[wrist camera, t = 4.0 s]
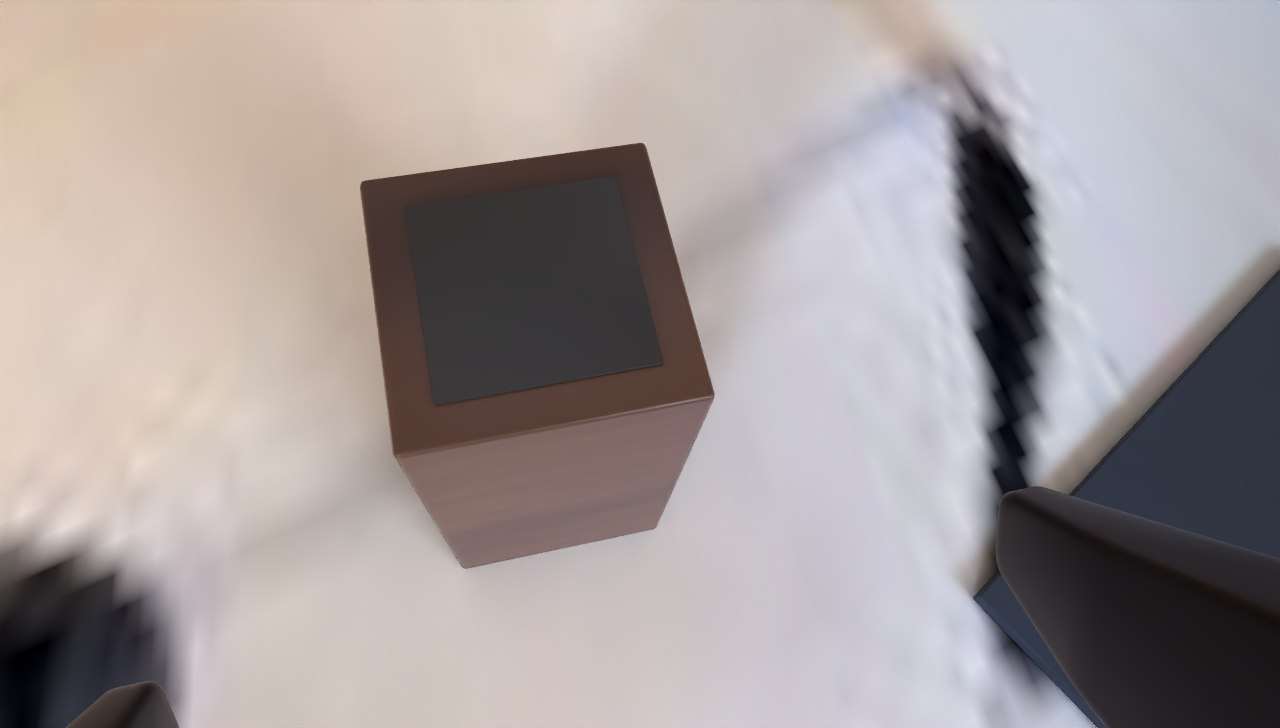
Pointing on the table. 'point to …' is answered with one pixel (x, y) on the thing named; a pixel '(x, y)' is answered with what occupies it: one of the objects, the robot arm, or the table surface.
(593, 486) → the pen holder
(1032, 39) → the table surface
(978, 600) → the desk pad
